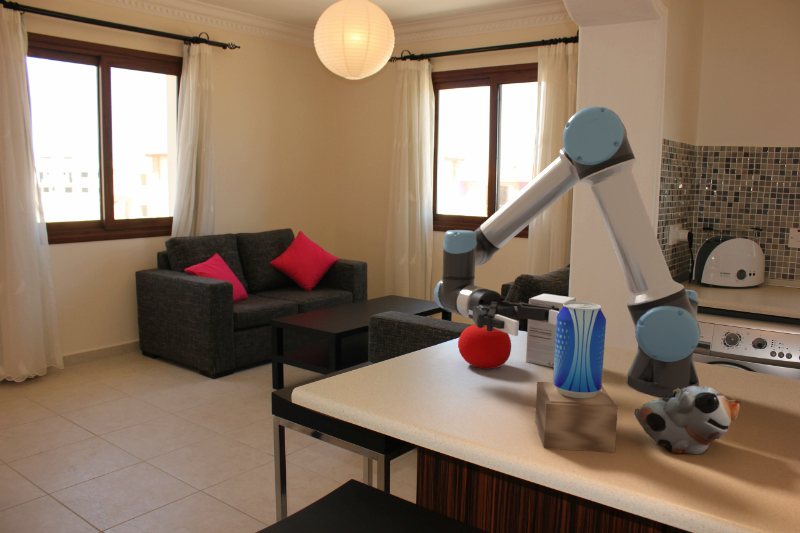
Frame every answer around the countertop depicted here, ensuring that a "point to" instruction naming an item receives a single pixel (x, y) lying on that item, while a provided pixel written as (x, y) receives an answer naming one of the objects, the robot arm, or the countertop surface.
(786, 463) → the countertop surface
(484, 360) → the tomato
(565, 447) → the block
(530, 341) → the supplement box
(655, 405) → the lucky cat figurine
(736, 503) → the countertop surface
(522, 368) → the countertop surface
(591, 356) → the beer can
